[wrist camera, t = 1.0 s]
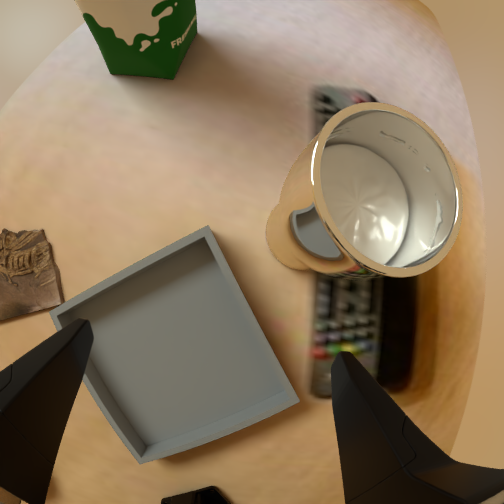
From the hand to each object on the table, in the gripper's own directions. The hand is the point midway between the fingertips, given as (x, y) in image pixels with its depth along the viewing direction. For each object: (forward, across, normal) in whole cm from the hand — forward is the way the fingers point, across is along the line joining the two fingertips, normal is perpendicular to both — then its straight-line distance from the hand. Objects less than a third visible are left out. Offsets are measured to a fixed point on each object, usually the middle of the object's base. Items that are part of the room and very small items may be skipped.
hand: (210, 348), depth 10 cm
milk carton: (+24, +10, -12) cm, 29 cm away
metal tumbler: (+15, -6, +2) cm, 16 cm away
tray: (+9, +4, +12) cm, 15 cm away
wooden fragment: (+12, +27, +8) cm, 31 cm away
